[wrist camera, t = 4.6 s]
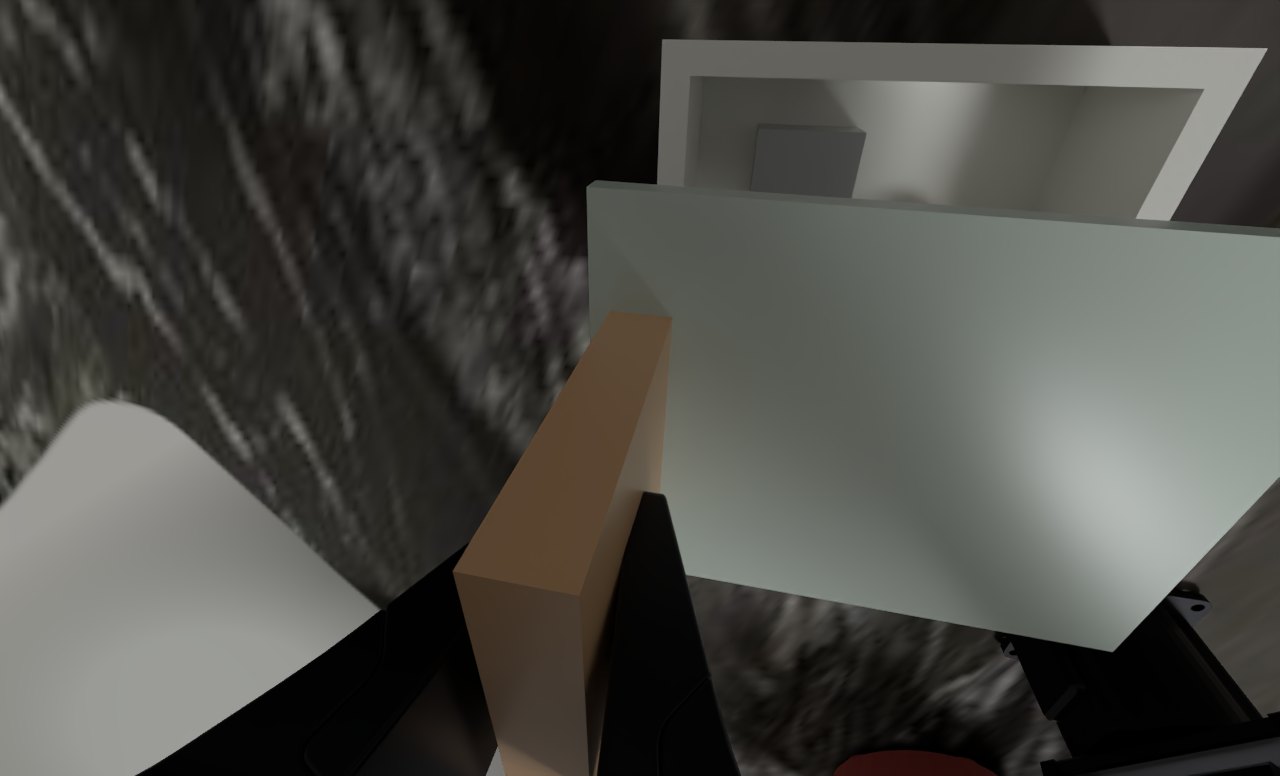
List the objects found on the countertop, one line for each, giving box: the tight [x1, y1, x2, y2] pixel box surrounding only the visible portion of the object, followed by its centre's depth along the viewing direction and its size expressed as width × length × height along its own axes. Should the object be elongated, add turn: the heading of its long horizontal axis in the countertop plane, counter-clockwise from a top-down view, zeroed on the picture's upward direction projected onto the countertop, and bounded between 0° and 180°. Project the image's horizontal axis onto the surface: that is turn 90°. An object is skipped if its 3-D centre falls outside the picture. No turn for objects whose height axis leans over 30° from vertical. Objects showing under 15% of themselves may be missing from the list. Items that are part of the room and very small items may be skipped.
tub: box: [657, 39, 1268, 221], centre depth 15 cm, size 12×9×5 cm
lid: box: [453, 180, 1280, 776], centre depth 8 cm, size 12×9×8 cm
